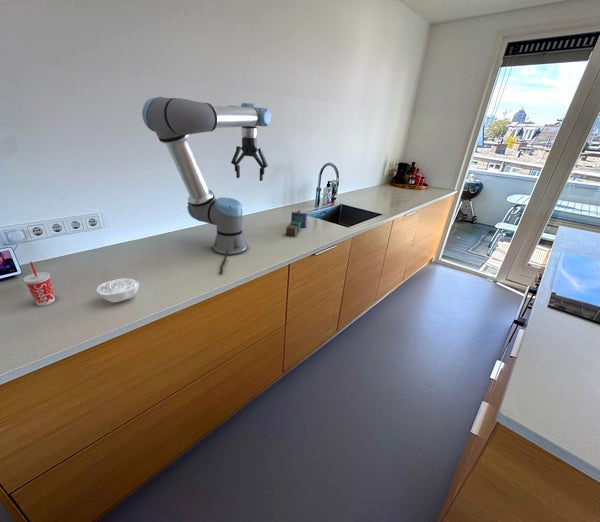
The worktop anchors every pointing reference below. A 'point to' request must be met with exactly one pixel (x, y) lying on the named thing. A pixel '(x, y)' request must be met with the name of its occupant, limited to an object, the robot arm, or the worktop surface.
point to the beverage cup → (40, 287)
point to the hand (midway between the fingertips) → (249, 179)
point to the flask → (299, 217)
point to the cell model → (118, 289)
